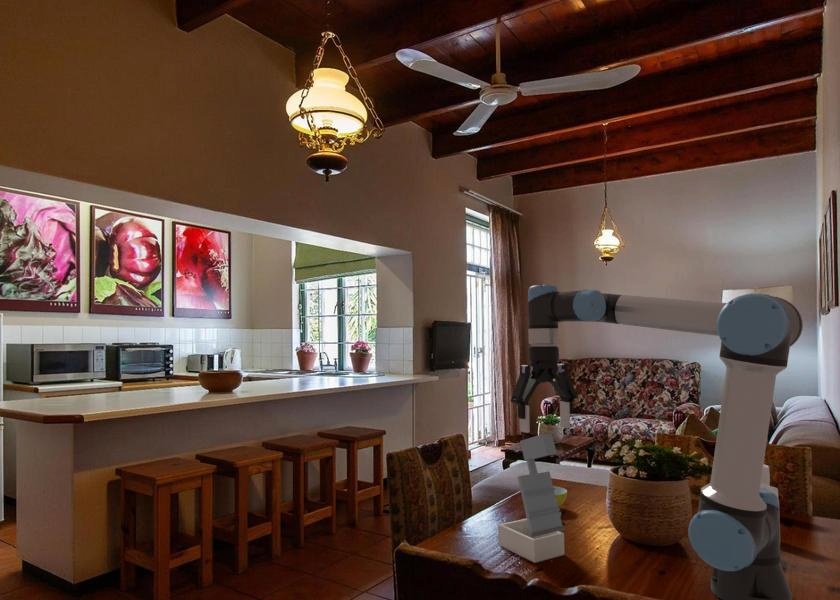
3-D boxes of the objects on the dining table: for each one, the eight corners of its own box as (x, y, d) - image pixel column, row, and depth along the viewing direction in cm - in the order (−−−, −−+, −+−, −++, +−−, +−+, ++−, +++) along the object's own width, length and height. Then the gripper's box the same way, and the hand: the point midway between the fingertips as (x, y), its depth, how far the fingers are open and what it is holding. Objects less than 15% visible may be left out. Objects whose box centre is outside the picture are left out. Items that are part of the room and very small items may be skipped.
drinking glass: (741, 511, 182) (739, 464, 183) (755, 509, 185) (753, 462, 186) (761, 518, 176) (760, 468, 177) (776, 515, 178) (774, 466, 179)
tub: (564, 557, 144) (564, 533, 145) (534, 565, 139) (534, 540, 140) (527, 540, 156) (527, 518, 157) (498, 547, 151) (498, 524, 152)
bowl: (525, 506, 188) (524, 486, 189) (555, 502, 192) (555, 484, 192) (542, 516, 177) (542, 496, 178) (574, 513, 181) (574, 493, 181)
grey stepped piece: (561, 529, 146) (586, 527, 139) (529, 537, 140) (553, 535, 133) (540, 438, 154) (562, 431, 147) (508, 442, 148) (530, 435, 141)
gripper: (568, 344, 156) (570, 423, 154) (495, 346, 143) (497, 431, 142) (589, 345, 149) (591, 427, 148) (515, 346, 137) (517, 436, 135)
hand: (545, 429), depth 145 cm, fingers open, 13 cm apart
